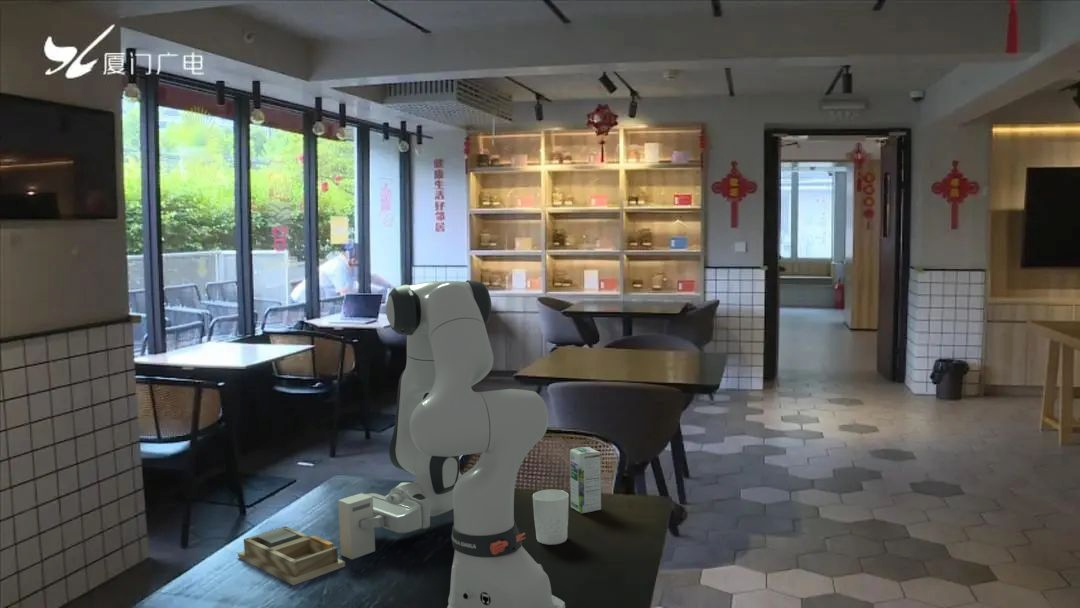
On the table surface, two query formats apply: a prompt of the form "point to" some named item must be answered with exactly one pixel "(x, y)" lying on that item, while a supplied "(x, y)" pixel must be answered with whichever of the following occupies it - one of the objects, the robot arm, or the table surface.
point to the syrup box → (585, 479)
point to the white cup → (551, 516)
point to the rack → (291, 555)
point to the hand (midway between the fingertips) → (353, 522)
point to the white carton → (355, 526)
